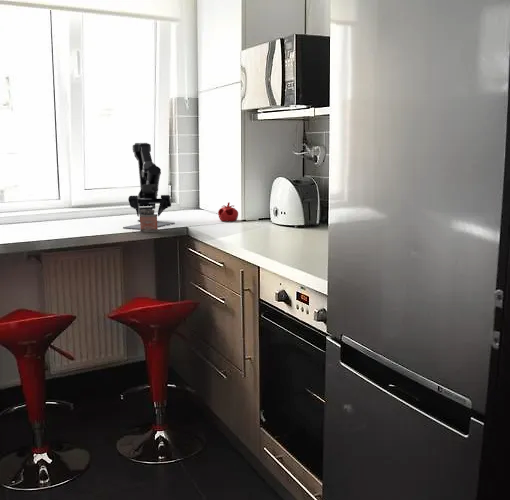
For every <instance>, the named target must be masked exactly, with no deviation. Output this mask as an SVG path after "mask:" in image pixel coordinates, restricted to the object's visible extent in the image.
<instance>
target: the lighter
mask: <svg viewBox="0 0 510 500" xmlns="http://www.w3.org/2000/svg"><path fill="white" fill-rule="evenodd" d="M141 212H144V214H141V215H139V220H140V221H139V222H140V223H139V224H140V226H141V229H140V232H145V233H146V232H147V233H149V232H158V231H159V229H158V228H159V227H157V221H158V213H155V209H153V210H151V209H147V210H146V209H141ZM145 212H147V213H145Z"/></svg>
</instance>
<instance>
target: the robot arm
mask: <svg viewBox="0 0 510 500" xmlns="http://www.w3.org/2000/svg"><path fill="white" fill-rule="evenodd" d="M151 147H152V146H151V144H150V143H148V142H135V143H134V144H132V153H133V154H134V157H135V159H136V161H138V162H137V163H138V174H139V175H138V176H139V186H140V190H139V192H138V195H129V196H128V203H129V206H130V208H132V209H134V210H135V211H136V216H137V217H139V218H140V215H141V214H144V212H141V209H146V210H147V209H151V210H155V209H156V204H158V210H157V217H160V216H161V214H163V212H164V211H165V210H167V209H168V208H171V207H172V200H171V199H172V198H171V195H170V194H161V195H160V197H159V198H158V193H159V185H160V178H161V175H162V171H161V170H162V169H161V168H160V167H159V166H157V165H156V163H154V162H153V160H152V159H153V158H152V155H151V152H152V148H151ZM145 213H147V212H145ZM137 222H140V219H137Z"/></svg>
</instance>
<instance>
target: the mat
mask: <svg viewBox="0 0 510 500" xmlns="http://www.w3.org/2000/svg"><path fill="white" fill-rule="evenodd" d="M170 224H172V225H175V224H176V223H175V222H170V221H159V220H157V227H158V228H160V226H162V227H165V225H167V226H171V225H170ZM122 229H124V230H125V229H127V230H136V231H139V230H140V229H141V226H140V223H138V224H132V225H128V226H127V225H126V226H123V227H122Z"/></svg>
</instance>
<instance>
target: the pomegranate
mask: <svg viewBox="0 0 510 500" xmlns="http://www.w3.org/2000/svg"><path fill="white" fill-rule="evenodd" d="M230 204H231V203H230V202H227V204H226V205H222V206H221V208H219V209H218V211H217V213H218V218H219V220H220V221H221V222H229V221H230V222H235V221H237V219H238V217H239V212H238V210H237V209H236V208H235V205H231V206H230Z"/></svg>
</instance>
